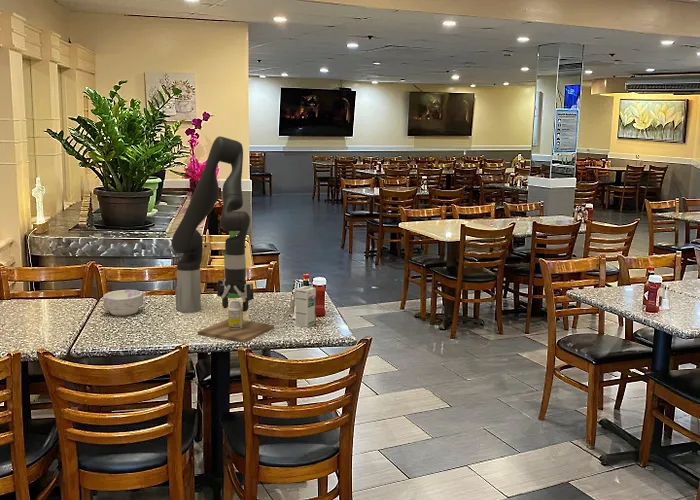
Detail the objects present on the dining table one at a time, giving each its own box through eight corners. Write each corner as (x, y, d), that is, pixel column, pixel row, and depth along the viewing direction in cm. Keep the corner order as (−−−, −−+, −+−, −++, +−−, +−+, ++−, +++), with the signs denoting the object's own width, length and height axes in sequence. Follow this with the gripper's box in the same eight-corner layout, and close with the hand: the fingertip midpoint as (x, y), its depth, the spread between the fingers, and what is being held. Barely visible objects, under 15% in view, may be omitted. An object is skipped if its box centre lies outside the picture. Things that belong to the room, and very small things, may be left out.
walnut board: (197, 334, 244) (197, 331, 244) (229, 321, 262) (229, 318, 262) (244, 342, 236) (244, 339, 236) (274, 328, 254) (274, 325, 254)
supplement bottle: (236, 325, 253) (236, 299, 251) (246, 328, 250) (245, 302, 248) (225, 328, 249) (225, 302, 247) (234, 331, 246) (234, 304, 244)
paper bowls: (95, 315, 267) (94, 295, 266) (121, 306, 281) (121, 287, 280) (126, 319, 262) (125, 299, 260) (151, 310, 276) (151, 291, 274)
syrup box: (307, 327, 256) (307, 290, 253) (294, 325, 259) (295, 288, 256) (316, 324, 261) (316, 287, 258) (303, 321, 264) (303, 285, 261)
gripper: (212, 265, 244) (213, 309, 247) (245, 270, 239) (245, 314, 241) (225, 262, 251) (225, 304, 254) (257, 266, 245) (257, 309, 248)
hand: (235, 309), depth 248 cm, fingers open, 8 cm apart
